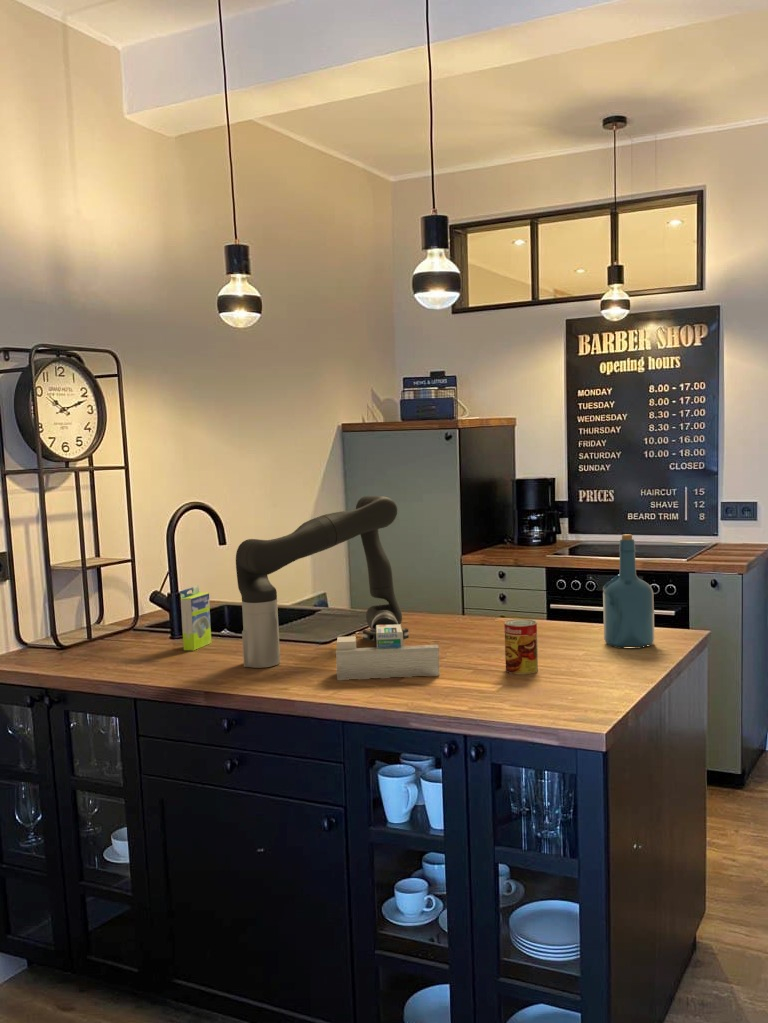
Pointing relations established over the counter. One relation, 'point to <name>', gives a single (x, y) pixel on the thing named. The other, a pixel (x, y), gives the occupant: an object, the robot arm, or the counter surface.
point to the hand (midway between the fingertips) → (386, 641)
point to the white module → (346, 642)
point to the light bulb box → (389, 635)
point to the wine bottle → (628, 603)
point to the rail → (387, 662)
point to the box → (195, 619)
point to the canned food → (521, 646)
